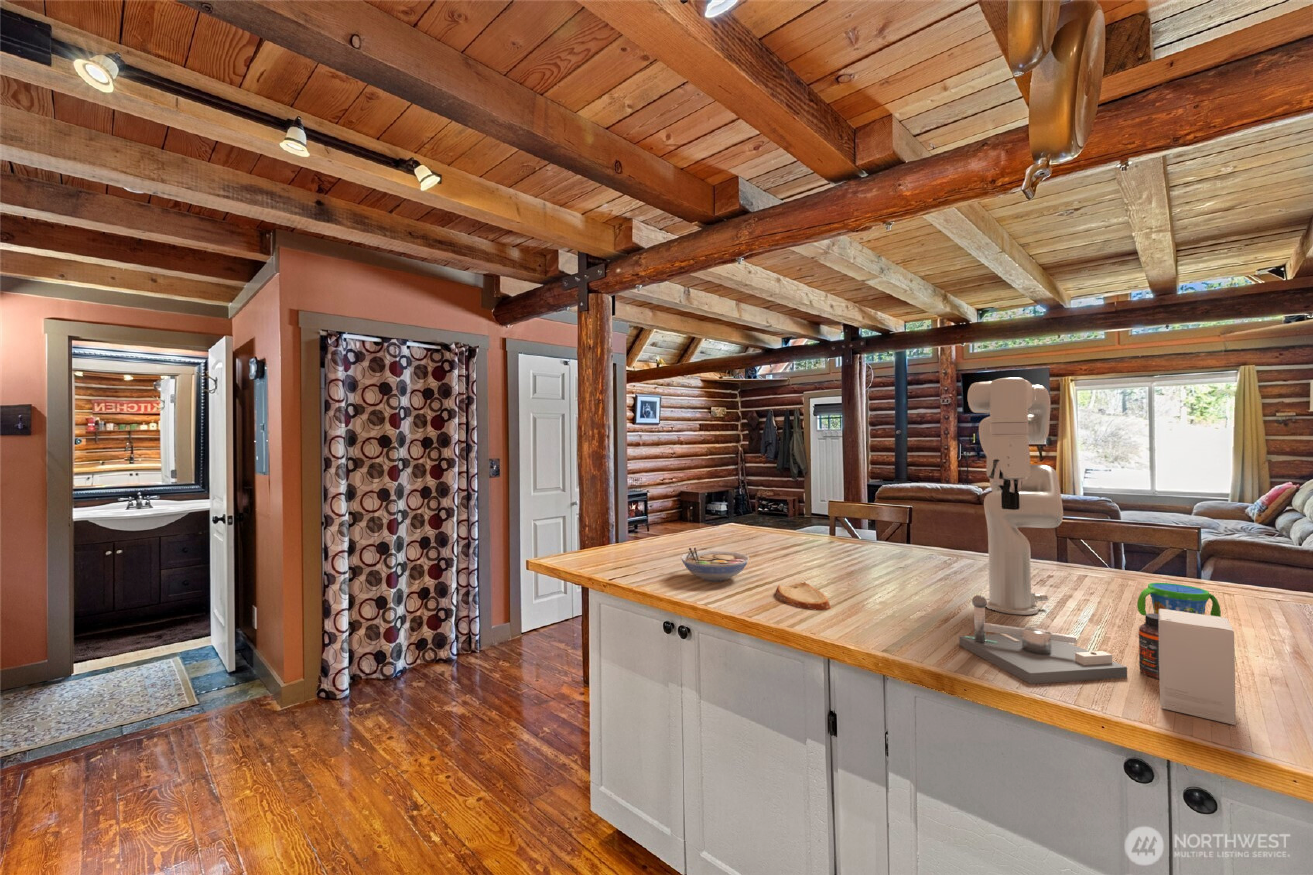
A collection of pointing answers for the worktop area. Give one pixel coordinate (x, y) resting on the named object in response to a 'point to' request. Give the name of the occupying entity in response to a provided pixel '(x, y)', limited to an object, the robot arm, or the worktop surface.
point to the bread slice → (803, 596)
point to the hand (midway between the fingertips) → (1010, 508)
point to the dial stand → (1044, 660)
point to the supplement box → (1197, 665)
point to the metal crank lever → (1016, 631)
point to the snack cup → (1177, 599)
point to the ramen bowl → (714, 564)
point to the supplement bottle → (1149, 646)
